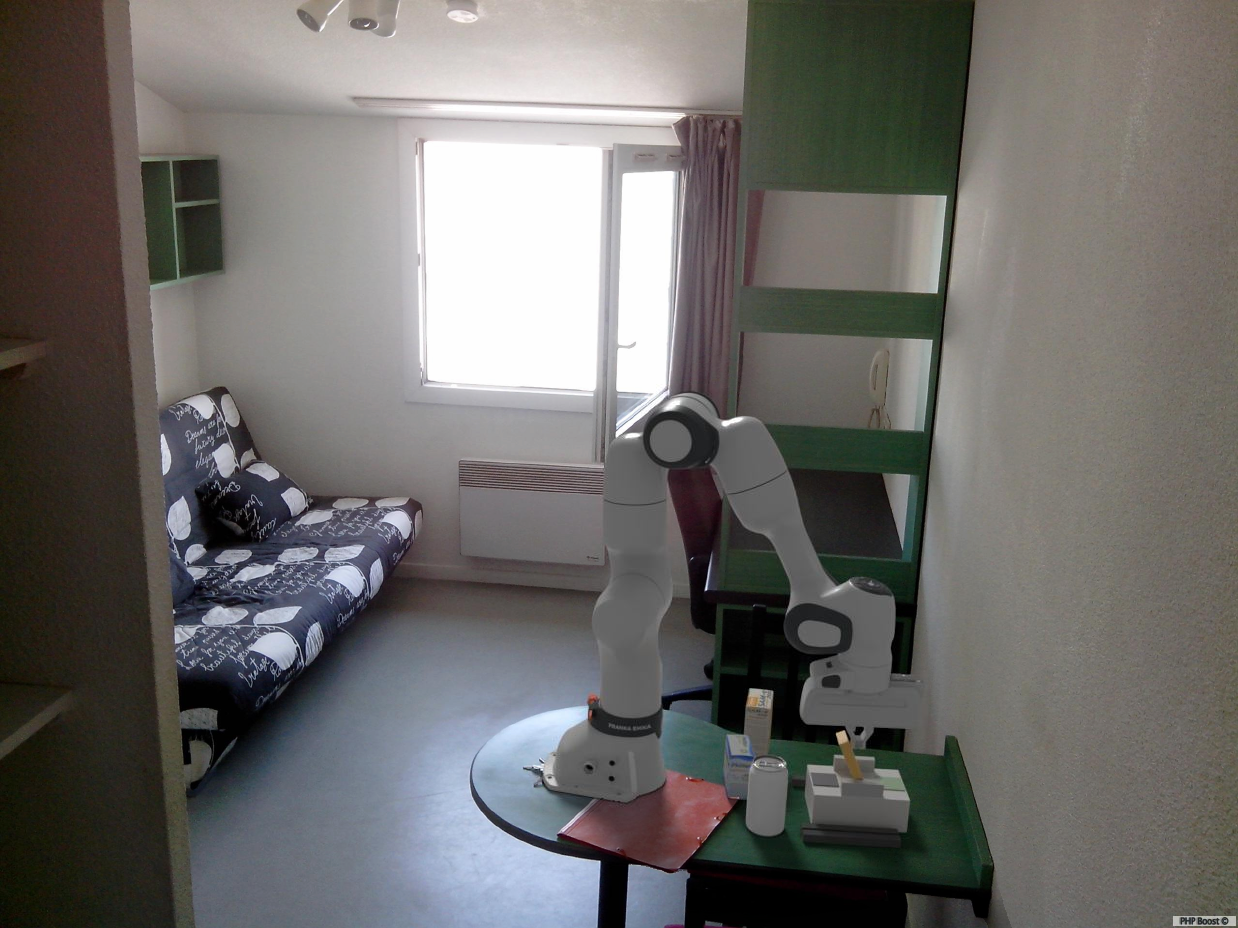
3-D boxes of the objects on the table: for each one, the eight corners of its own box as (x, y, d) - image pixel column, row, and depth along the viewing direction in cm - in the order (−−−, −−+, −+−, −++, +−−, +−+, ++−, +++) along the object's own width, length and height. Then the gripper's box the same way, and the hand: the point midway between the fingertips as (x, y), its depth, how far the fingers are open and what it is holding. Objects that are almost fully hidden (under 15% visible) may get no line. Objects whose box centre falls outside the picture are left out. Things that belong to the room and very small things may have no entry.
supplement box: (766, 773, 195) (771, 709, 192) (740, 770, 196) (745, 705, 193) (769, 752, 203) (774, 689, 200) (744, 749, 204) (749, 686, 201)
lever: (857, 790, 179) (839, 746, 177) (852, 773, 184) (835, 730, 183) (866, 787, 179) (848, 743, 177) (861, 770, 184) (843, 727, 182)
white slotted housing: (811, 826, 179) (815, 781, 177) (804, 794, 188) (808, 752, 186) (906, 832, 178) (911, 787, 176) (894, 800, 188) (899, 757, 186)
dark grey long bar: (791, 785, 191) (792, 778, 191) (791, 781, 192) (791, 774, 192) (880, 791, 190) (881, 784, 190) (879, 787, 192) (879, 780, 191)
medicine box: (722, 776, 194) (725, 733, 192) (746, 776, 194) (749, 733, 192) (727, 799, 186) (730, 755, 184) (752, 800, 186) (755, 755, 184)
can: (783, 840, 174) (789, 774, 172) (744, 835, 175) (749, 770, 173) (784, 818, 181) (789, 755, 178) (746, 814, 182) (750, 751, 179)
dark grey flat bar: (802, 841, 174) (803, 834, 174) (800, 829, 177) (801, 822, 177) (900, 847, 173) (901, 840, 173) (896, 835, 177) (897, 828, 176)
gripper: (921, 667, 180) (914, 741, 183) (801, 662, 181) (796, 735, 184) (930, 683, 173) (923, 759, 177) (805, 677, 174) (800, 753, 178)
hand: (857, 747), depth 180 cm, fingers closed
